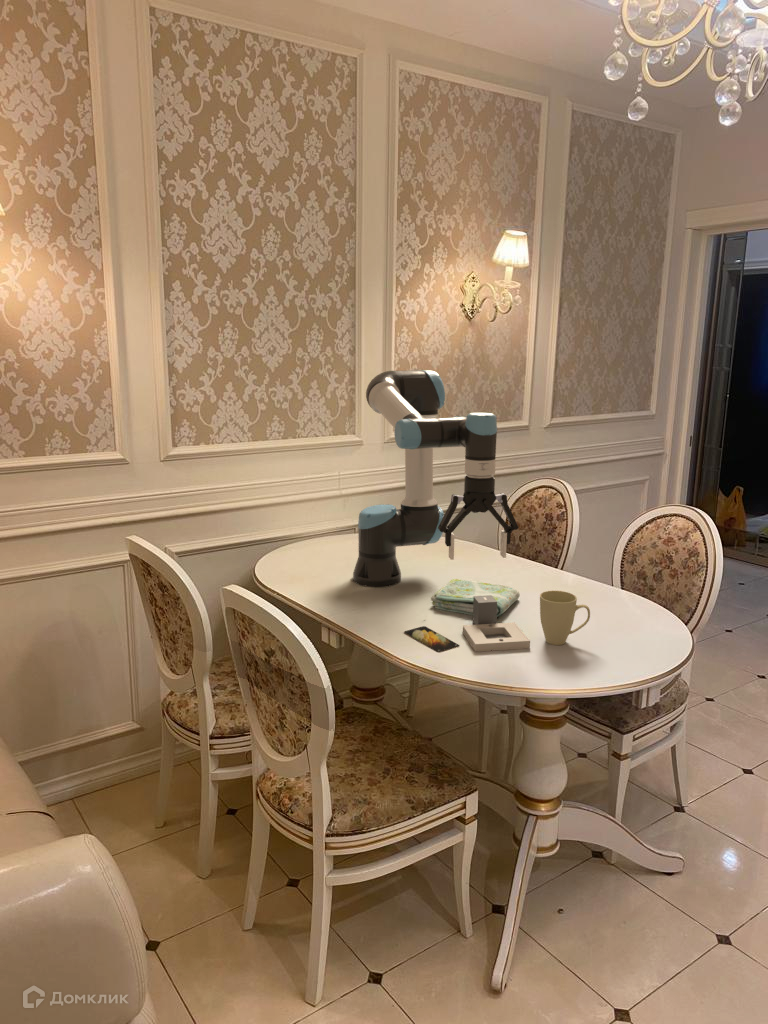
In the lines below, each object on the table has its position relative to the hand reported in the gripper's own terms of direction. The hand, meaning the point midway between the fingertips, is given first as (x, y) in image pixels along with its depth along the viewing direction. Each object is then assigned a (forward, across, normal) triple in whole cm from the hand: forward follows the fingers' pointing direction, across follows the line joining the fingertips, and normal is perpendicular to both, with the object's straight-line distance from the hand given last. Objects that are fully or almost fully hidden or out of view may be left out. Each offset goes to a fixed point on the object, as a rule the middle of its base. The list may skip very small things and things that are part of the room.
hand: (477, 557), depth 190 cm
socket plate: (+20, +4, -7) cm, 21 cm away
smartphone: (+21, -12, -4) cm, 24 cm away
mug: (+20, +20, -9) cm, 30 cm away
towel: (+21, +5, +20) cm, 29 cm away
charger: (+20, +3, +3) cm, 21 cm away
